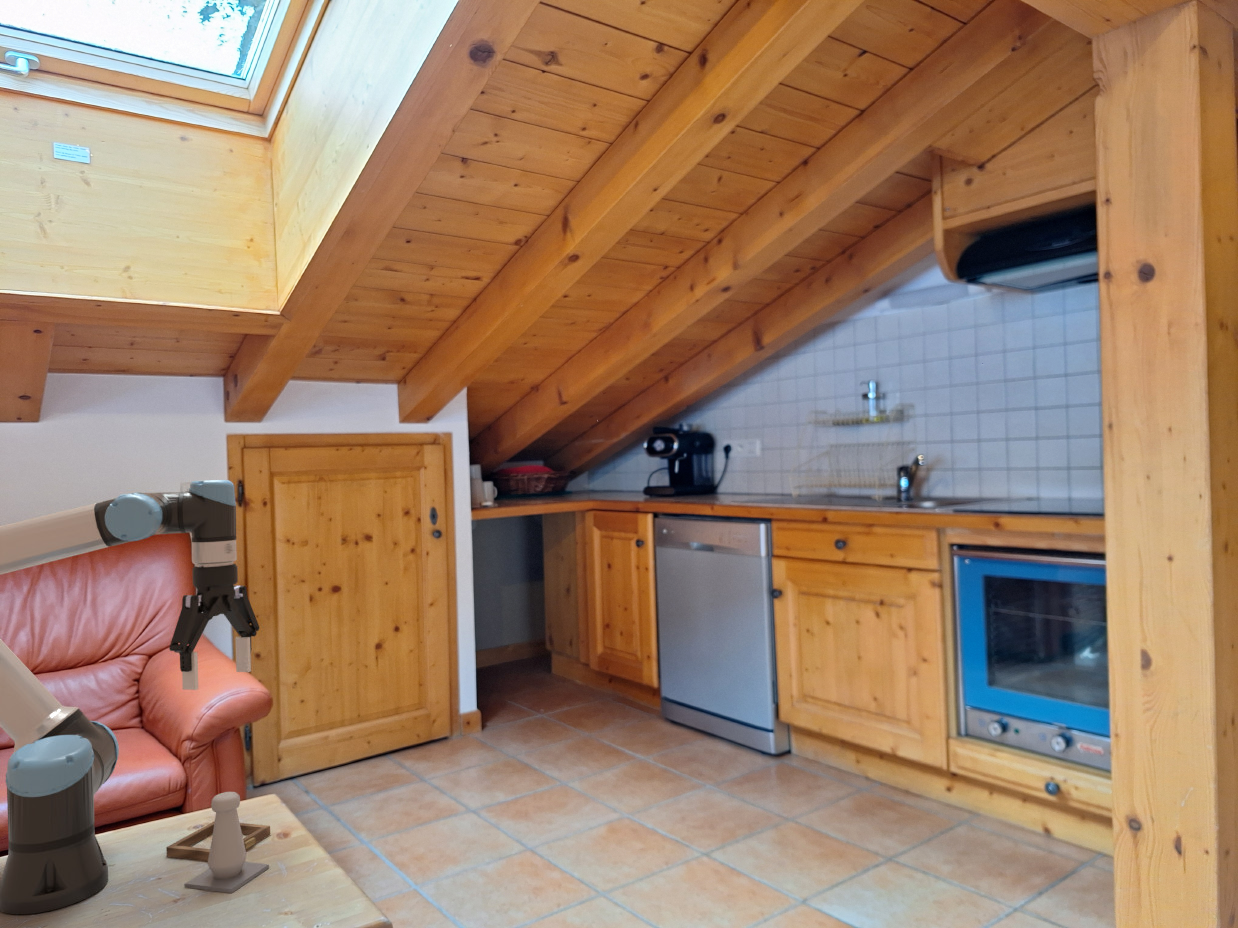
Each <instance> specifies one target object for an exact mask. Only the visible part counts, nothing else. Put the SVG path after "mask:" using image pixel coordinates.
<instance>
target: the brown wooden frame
mask: <svg viewBox="0 0 1238 928" xmlns="http://www.w3.org/2000/svg"><path fill="white" fill-rule="evenodd" d="M214 822H215V820H214V821H212V822H210V823H209V824H206V825H205V826H203V827H201V828H199V829H198V830H196V831H194V832H192V833H190V834H188V835H186V836H184V837H183V838H181V839H179V840H177V841H175V842H173V843H172V844H169V845H168V846H166V847H165V848H166V850H165V851H166V857H168V858H169V857H170V858H178V859H185V860H187V859H188V860H195V861H203V862H208V858H209V852H210V848H205V847H204V848H203V847H195V846H194V845H196V844H197V843H199V842H201V841H203V840H204V839H206V838H208V837H209V836H211V835H213V829H214ZM239 823H240V827H241V832H242V835H247V836H245V837H243V841H244V846H245V850H248V849H249V848H251V847H253V846H254V845H256V844H257V843H259V842H260V841H262V840H264V839H265V838H267V837H269V836H270V835H271V825H265V824H264V825H263V824H258V823H257V824H255V823H246V822H245V823H244V822H239ZM193 846H194V847H193Z"/></svg>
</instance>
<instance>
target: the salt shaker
mask: <svg viewBox="0 0 1238 928" xmlns="http://www.w3.org/2000/svg"><path fill="white" fill-rule="evenodd" d="M240 803H241V798H240V794H238V793H237V792H235V791H225V792H222V793H218V794H216V795H215V796H213V797H212V799H211V803H210V805H211V810H212V811H213V812H214V813H215V816H214V817H215V818H214V821H215V822H214V821H213V822H214V829H213V834H211V835H212V837H211V841H210V848H209V849H210V852H209V858H208V861H207V866H208V869H209V868H210V870H211V871H212V873H213V874H214V876H215V878H216V879H228V878H231V877H234V876H237V875H238V874H239V873H240V872H241V870H242V868H243V865H244V862H246V859H247V851H246V850H247V849H246V850H245V846H244V841H243V838H244V837H243V836H244V835H243V834H242V832H241V827H240V823H241V822H240V820H239V813H238V810H237V809H238V808H239V807H240Z"/></svg>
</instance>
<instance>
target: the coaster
mask: <svg viewBox="0 0 1238 928" xmlns="http://www.w3.org/2000/svg"><path fill="white" fill-rule="evenodd" d="M269 868H270V865H269V864H268V863H261V862H260V863H258V862H251V861H249V862H248V861H245V862H244V865H243V868H242V870H241V872H240V873H239V874H238V875H237V876H234V877H231V878H228V879H216V878H215V876H214V874H213V873H212V871H211V870H210V868H209V867H208V869H206V870H204V871H203V872H201V873H199V874H198V875H196V876H194V877H193V878H191V879H189V880H188V881H186V882H185V883H184V888H185V889H186V888H188V889H195V890H203V891H210V892H211V891H213V892H220V893H227V894H232V893H234V892H235V891H237V890H239V889H240V888H241V887H243V886H244V885H246V884H247V883H249V882H250V881H252V880H253V879H255V878H257V877H258V876H260V875H261V874H263V873H264V872H265V871H267V870H268V869H269Z"/></svg>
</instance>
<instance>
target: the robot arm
mask: <svg viewBox="0 0 1238 928" xmlns="http://www.w3.org/2000/svg"><path fill="white" fill-rule="evenodd" d="M189 486H190V487H189V489H188V490H187V491H180V492H174V491H173V492H132V493H124V494H123V493H122V494H119V495H118V497H117V498H113V499H109V500H108V499H107V500H103V501H101V502H96V503H91V504H87V505H83V506H79V507H74V508H70V509H65V510H62V511H57V512H53V513H49V514H45V515H40V516H37V517H36V516H35V517H32V518H27V519H24V520H20V521H16V522H12V523H8V524H3V525H0V575H4V574H8V573H11V572H15V571H16V572H17V571H20V570H23V569H27V568H32V567H35V566H40V565H44V564H47V563H51V562H55V561H58V560H63V559H67V558H70V557H74V556H78V555H82V554H87V553H90V552H95V551H98V550H102V549H105V548H109V547H115V546H119V545H123V544H127V543H131V542H136V541H141V540H145V539H148V538H150V537H152V536H156V535H167V534H171V535H172V534H187V533H188V534H189V533H190V534H191V562H192V564H194V565H195V566H193V568H192V586H194V587H195V588H196V590H197V591H196V595H195V594H193V595H192V594H184V595H183V596H182V603H181V610H180V613H179V616H178V620H177V623H176V625H175V628H174V633H173V636H172V638H171V641H170V645H169V646H168V647H169V649H168V650H169V651H170V652H174V653H177V654H179V671H181V674H182V675H181V677H182V679H181V681H182V690H190V691H196V690H199V665H198V664H199V658H198V651H195V649H196V647H197V645H198V642H199V641H200V638H201V636H202V634H203V633H204V631H205V629H206V627H207V624H208V623H209V622H210V620H212V619H213V617H217V616H219V615H224V617H225V618H226V620H227V621H228V623H229V624H230V625H231V627H232V628H233V629H234V631H235V632H236V633H237V635H238V636H236V637H235V641H234V642H235V669H236V673H250V672H252V660H251V658H252V657H251V654H252V653H251V652H252V637H256V635H257V632H259V630H260V625H259V622H258V620H257V617H256V614H255V612H254V610H253V607H252V605H251V602H250V599H249V596H248V589H247V586H246V585H237V583H238V581H239V580H238V579H239V577H238V564H236V563H234V562H236V561H237V560H238V554H237V503H236V493H235V492H236V491H235V489H236V488H235V485H234V483H233V482H232V481H231V480H228V479H214V480H213V479H211V480H210V479H207V480H193V481H191V483H190V485H189ZM0 728H1V729H2V730H3V731H4V733H6V734H7V735H8V736H9V737H10V739H11V740H12V741H13V742H14V747H13V752H12V754H11V755H10V757H9V759H8V761H7V767H6V773H5V786H6V798H7V831H8V835H7V836H8V838H7V839H8V855H7V858H6V861H5V865H4V868H3V872H2V874H1V880H0V912H2V913H5V914H9V915H30V914H31V915H33V914H38V913H44V912H49V911H53V910H58V909H61V908H65V907H67V906H70V905H73V904H76V903H78V902H81V901H83V900H86V899H87V898H89V897H92V896H93V895H95V894H96V893H98V892H99V891H100V890H102V889H103V888H104V887H105V886H106V885H107V883H108V881H109V865H108V862H107V861H106V859H105V857H104V853H103V852H102V851H103V850H102V848H101V846H100V843H99V841H98V839H97V837H96V834H95V831H96V830H95V795H96V794H97V792H98V791H99V790H100V788H101V787H102V786H103V785H104V784H105V783H106V782H107V781H108V780H109V779H110V777H111V775H112V774H113V773H114V770H115V768H116V765H117V763H118V760H119V755H120V753H119V752H120V747H119V742H118V739H117V737H116V735H115V733H114V732H113V731H112V729H111V728H110V727H108V726H107V725H105V724H103V723H102V722H99V721H95V720H90V719H89V717H87V716H86V715H85V713H84V712H83V711H82V710H81V709H80V708H79V707H78V706H65V705H62V703H61V702H60V701H59V700H58V699H57V698H56V696H54V695H53V694H52V693H51V691H49V690H48V688H47V687H46V686H45V685H44V684H43V682H41V681H40V680H39V678H38V677H36V675H35V674H34V673H33V672H32V671H31V670H30V669H29V668H28V667H27V666H26V665H25V664H24V662H22V660H21V658H19V657H18V656H17V655H16V654H15V653H14V651H12V649H11V648H9V646H8V645H7V644H6V643H5V642H4V640H3V639H1V638H0Z"/></svg>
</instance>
